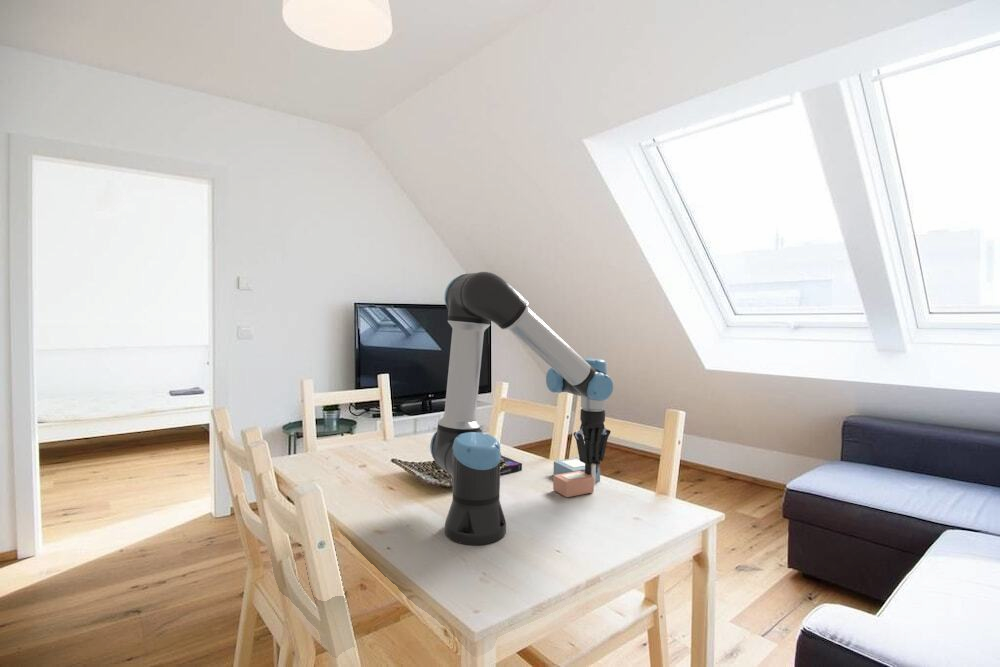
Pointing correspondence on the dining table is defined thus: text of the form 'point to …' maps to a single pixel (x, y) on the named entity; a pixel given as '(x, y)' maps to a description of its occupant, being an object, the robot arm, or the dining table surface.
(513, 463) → the box
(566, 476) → the white-topped pink block
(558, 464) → the white-topped blue block
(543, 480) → the dining table surface
